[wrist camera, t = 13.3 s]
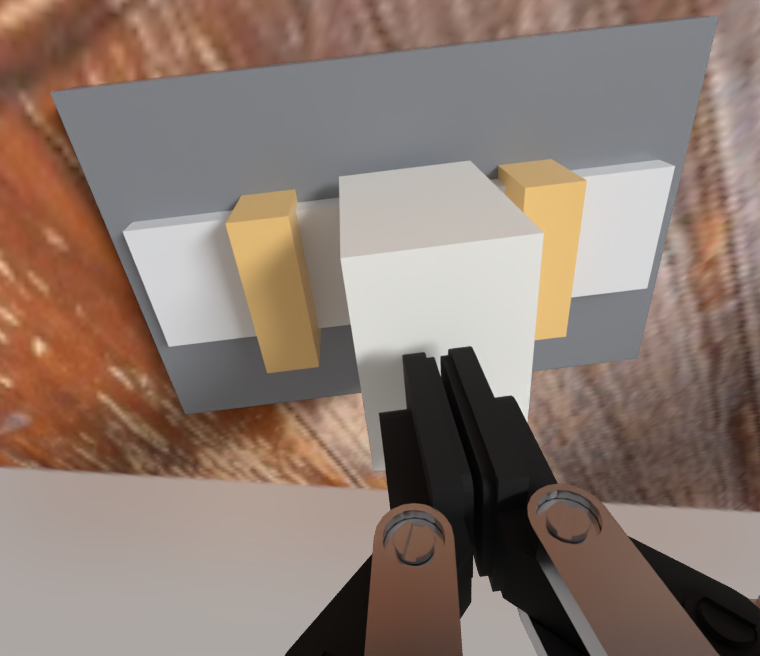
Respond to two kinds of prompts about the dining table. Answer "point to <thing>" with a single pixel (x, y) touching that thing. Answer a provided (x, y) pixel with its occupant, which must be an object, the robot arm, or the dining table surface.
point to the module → (436, 280)
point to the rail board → (374, 154)
